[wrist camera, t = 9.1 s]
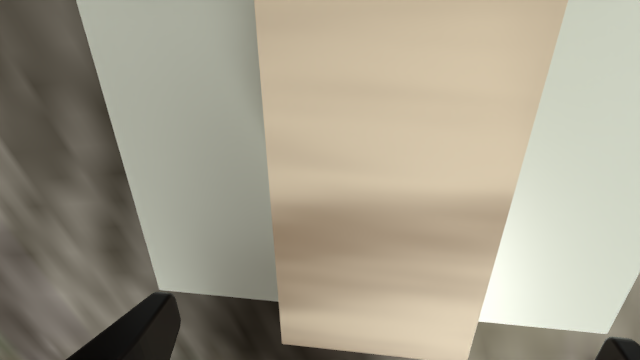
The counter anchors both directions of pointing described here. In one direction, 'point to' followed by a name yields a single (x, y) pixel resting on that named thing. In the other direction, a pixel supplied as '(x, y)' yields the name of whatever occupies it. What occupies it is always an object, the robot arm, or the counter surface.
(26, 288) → the counter surface
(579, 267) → the sage mat
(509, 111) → the birch block
